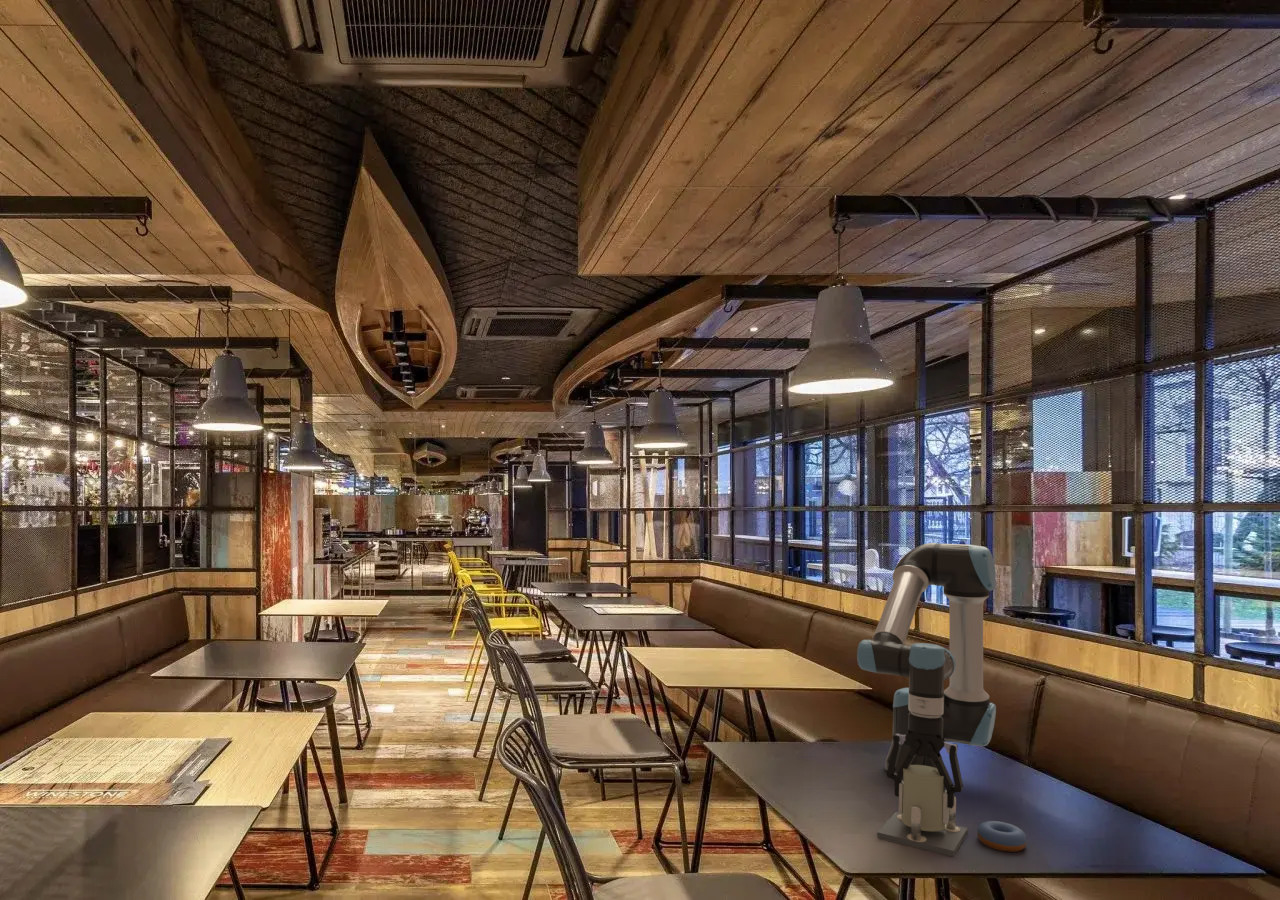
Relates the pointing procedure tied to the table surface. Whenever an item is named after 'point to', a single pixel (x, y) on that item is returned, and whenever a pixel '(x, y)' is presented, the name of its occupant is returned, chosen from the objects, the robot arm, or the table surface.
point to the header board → (923, 836)
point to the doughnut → (1001, 836)
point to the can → (923, 796)
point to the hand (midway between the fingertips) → (923, 816)
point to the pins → (917, 821)
